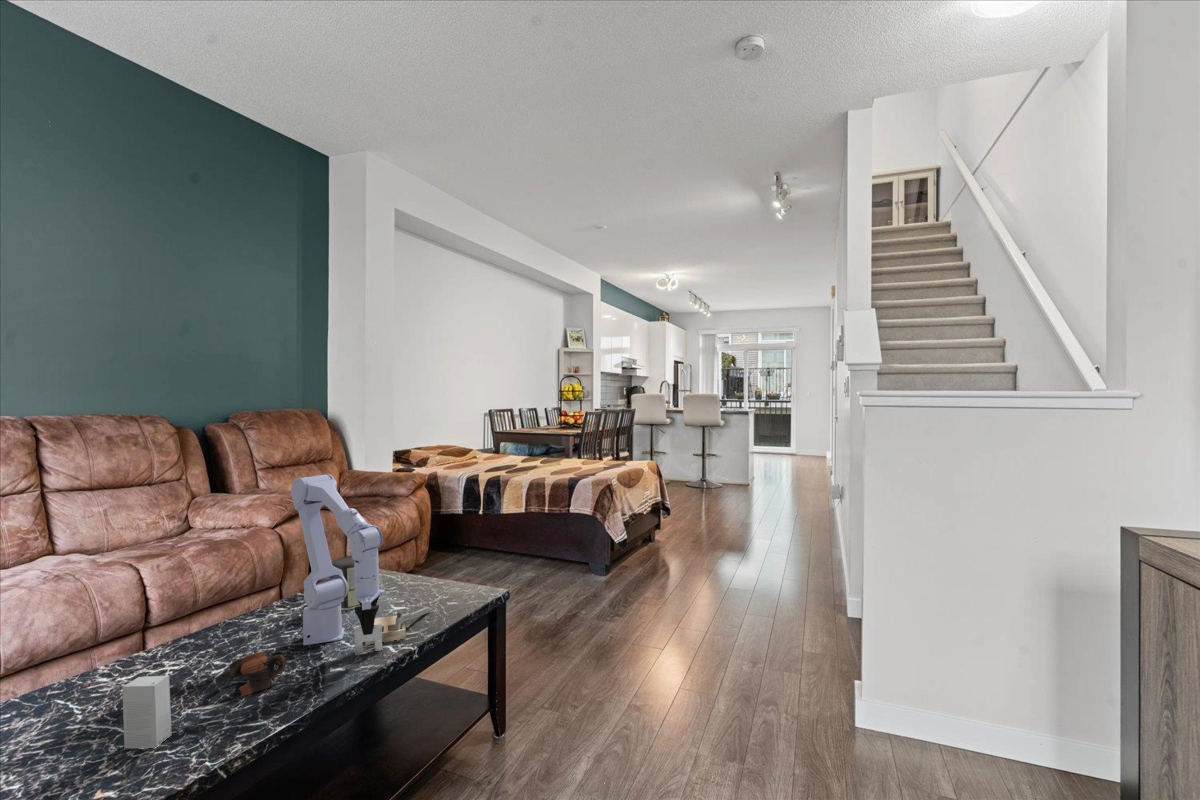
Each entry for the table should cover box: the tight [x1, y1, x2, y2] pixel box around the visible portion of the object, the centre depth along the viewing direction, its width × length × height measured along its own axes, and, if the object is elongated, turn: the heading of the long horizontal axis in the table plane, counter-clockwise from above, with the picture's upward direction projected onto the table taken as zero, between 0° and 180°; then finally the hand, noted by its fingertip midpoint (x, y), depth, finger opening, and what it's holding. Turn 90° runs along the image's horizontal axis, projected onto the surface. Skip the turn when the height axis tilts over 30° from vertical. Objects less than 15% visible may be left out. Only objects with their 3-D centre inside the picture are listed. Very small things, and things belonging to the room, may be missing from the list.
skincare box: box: [121, 675, 172, 749], centre depth 110 cm, size 6×4×12 cm
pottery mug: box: [226, 651, 288, 697], centre depth 132 cm, size 12×10×8 cm
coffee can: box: [331, 555, 360, 611], centre depth 182 cm, size 10×10×14 cm
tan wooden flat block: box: [364, 613, 407, 646], centre depth 159 cm, size 10×12×2 cm
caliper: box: [395, 606, 433, 630], centre depth 165 cm, size 20×1×6 cm, turn 172°
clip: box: [354, 624, 383, 656], centre depth 148 cm, size 6×2×6 cm, turn 110°
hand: (368, 628), depth 148 cm, fingers open, 7 cm apart
